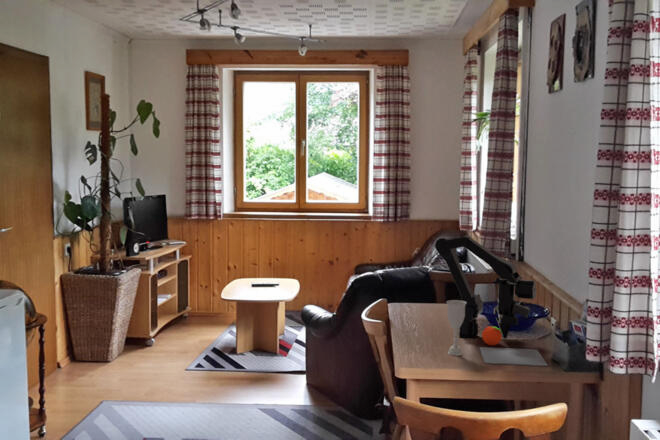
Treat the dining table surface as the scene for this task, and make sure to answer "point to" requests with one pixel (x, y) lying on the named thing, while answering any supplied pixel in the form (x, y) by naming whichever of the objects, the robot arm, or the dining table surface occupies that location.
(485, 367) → the dining table surface
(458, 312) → the chalice
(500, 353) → the mat
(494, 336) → the clementine
